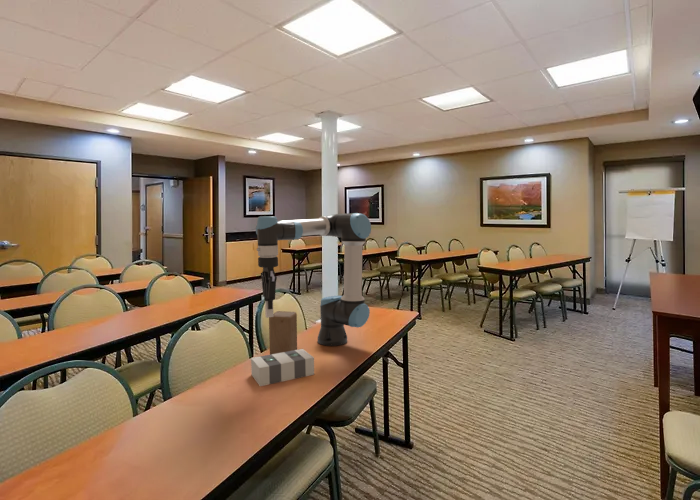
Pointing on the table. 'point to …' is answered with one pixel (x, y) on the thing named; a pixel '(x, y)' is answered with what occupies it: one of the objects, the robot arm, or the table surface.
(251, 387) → the table surface
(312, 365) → the socket board
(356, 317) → the robot arm
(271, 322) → the wooden block
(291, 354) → the peg
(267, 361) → the peg
